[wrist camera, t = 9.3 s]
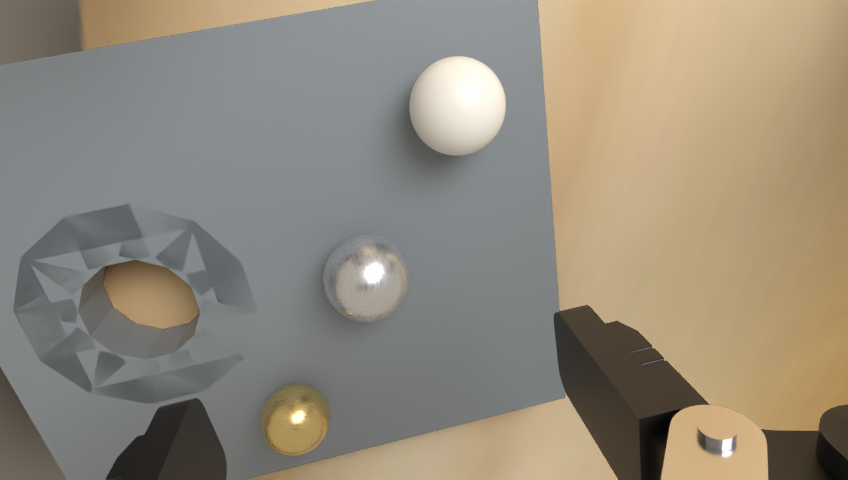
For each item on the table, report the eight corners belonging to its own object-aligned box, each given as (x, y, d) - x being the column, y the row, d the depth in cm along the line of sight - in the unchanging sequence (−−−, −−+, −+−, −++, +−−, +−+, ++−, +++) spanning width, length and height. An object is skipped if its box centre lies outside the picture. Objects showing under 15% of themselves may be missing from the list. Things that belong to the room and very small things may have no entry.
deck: (513, -21, 22) (535, -28, 19) (547, 369, 29) (565, 397, 27) (-103, 85, 19) (-161, 92, 17) (109, 478, 27) (89, 519, 25)
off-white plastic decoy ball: (484, 47, 20) (514, 49, 17) (494, 136, 21) (523, 154, 18) (396, 63, 20) (408, 68, 16) (411, 153, 21) (426, 174, 18)
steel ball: (441, 270, 20) (366, 274, 18) (407, 334, 22) (335, 346, 19) (396, 217, 22) (324, 216, 20) (369, 280, 24) (298, 285, 21)
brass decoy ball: (321, 363, 24) (321, 405, 21) (336, 414, 25) (337, 460, 22) (256, 378, 24) (247, 424, 21) (274, 429, 25) (267, 479, 22)
